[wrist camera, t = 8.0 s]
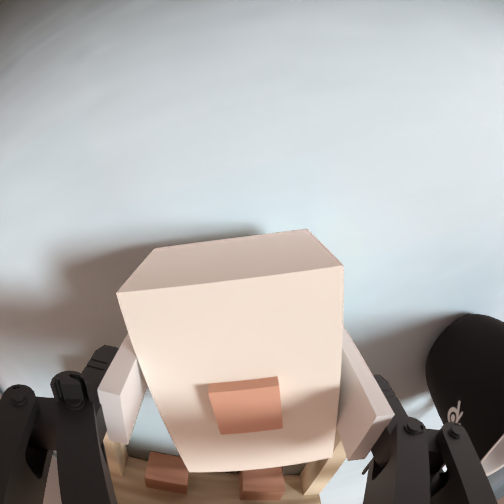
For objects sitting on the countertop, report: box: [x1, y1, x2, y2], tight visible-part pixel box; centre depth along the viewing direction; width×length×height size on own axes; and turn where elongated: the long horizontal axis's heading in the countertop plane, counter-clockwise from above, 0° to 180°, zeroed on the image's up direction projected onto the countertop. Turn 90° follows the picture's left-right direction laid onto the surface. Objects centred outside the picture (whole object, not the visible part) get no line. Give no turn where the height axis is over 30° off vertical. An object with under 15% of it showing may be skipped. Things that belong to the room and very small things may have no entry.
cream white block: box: [116, 229, 344, 472], centre depth 12 cm, size 10×7×6 cm
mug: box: [426, 314, 504, 476], centre depth 14 cm, size 12×9×10 cm
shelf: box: [103, 427, 347, 504], centre depth 15 cm, size 14×19×10 cm
